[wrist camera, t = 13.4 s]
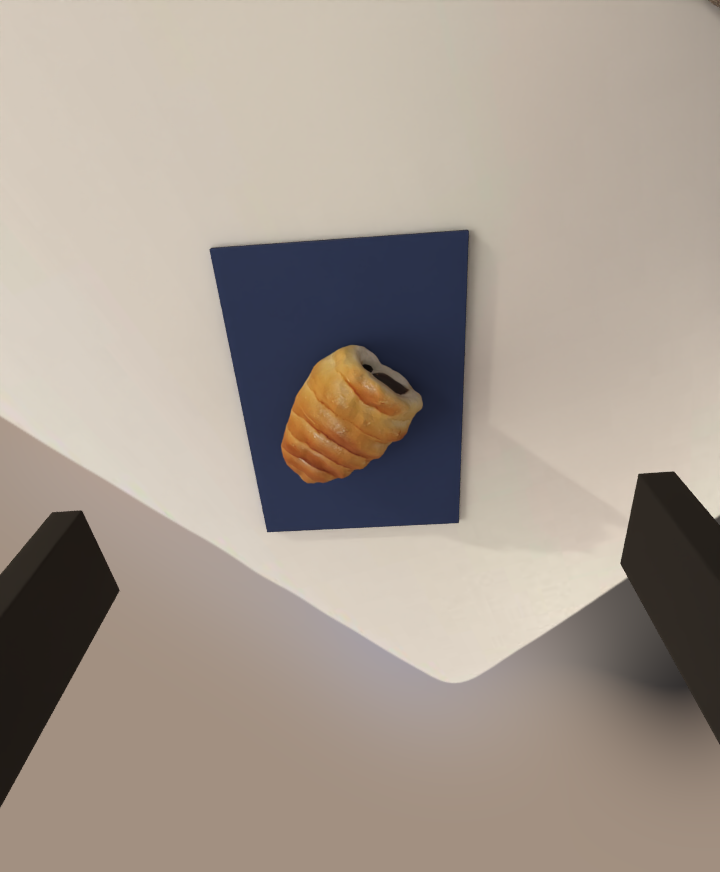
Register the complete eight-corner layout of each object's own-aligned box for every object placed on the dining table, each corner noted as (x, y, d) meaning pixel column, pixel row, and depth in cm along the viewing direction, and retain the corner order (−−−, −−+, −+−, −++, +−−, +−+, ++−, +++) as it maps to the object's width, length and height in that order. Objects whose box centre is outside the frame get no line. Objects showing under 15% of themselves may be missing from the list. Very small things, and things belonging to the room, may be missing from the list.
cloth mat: (467, 229, 28) (469, 230, 28) (458, 519, 38) (458, 523, 38) (211, 247, 29) (209, 249, 29) (268, 528, 39) (267, 532, 39)
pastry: (340, 487, 36) (337, 522, 33) (257, 435, 35) (245, 468, 31) (429, 389, 33) (436, 418, 29) (341, 325, 31) (338, 348, 27)
